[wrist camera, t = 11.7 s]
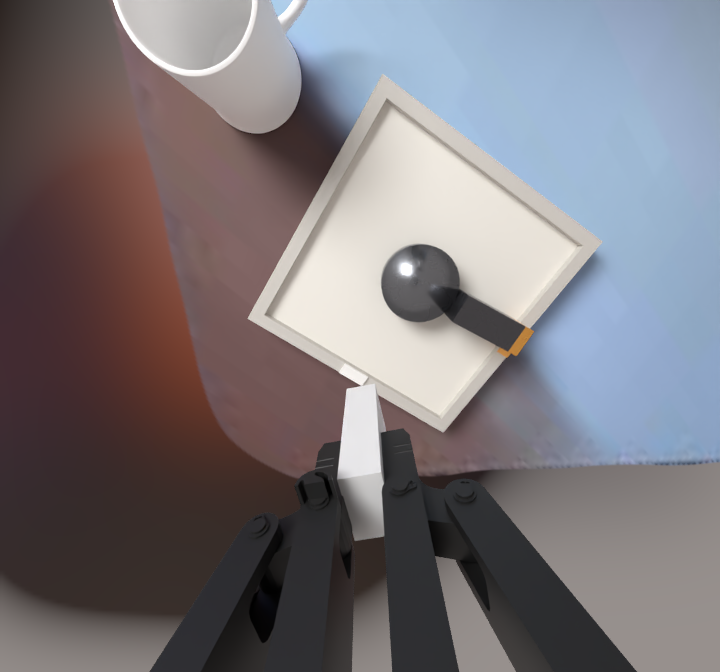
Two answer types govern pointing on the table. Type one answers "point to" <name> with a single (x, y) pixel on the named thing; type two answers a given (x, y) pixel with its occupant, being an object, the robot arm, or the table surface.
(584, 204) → the table surface
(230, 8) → the mug
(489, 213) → the white square tray
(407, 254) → the dark grey handled piece
